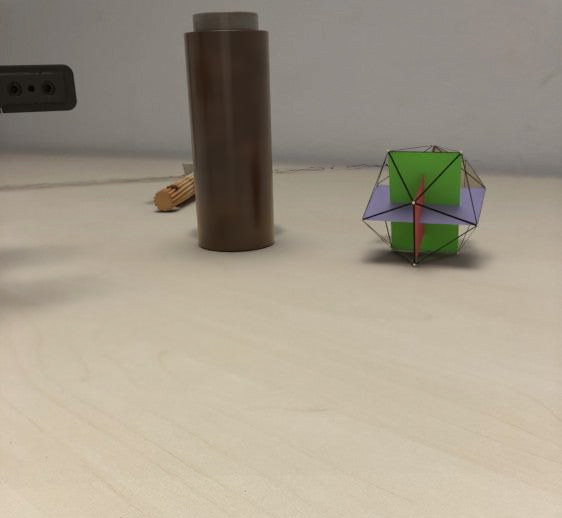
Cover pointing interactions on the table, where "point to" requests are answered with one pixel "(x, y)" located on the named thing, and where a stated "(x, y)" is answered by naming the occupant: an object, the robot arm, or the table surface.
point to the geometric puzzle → (427, 200)
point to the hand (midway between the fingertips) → (61, 87)
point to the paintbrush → (176, 190)
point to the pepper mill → (230, 130)
